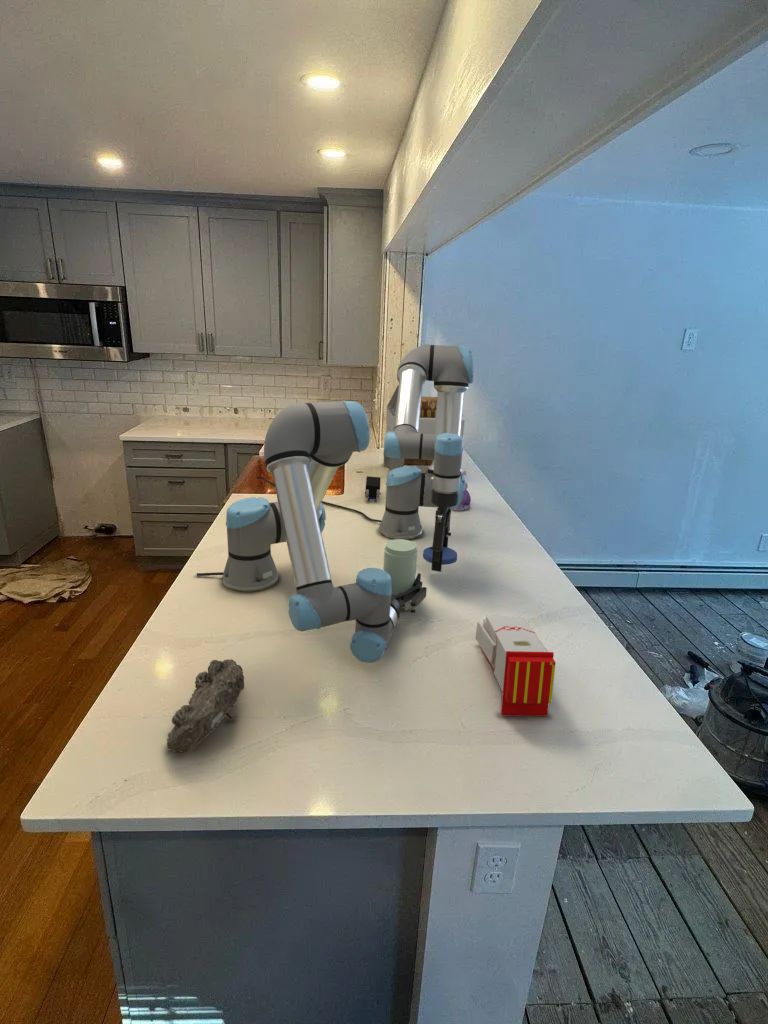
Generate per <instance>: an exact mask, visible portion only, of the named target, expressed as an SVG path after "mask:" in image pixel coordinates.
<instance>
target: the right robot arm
mask: <svg viewBox="0 0 768 1024" xmlns="http://www.w3.org/2000/svg"><path fill="white" fill-rule="evenodd" d="M474 368H475V367H474V355H473V351H472V349H471V348H470V347H469V346H461V345H444V344H443V345H441V344H422V345H419V346H416V347H414V348H412V349H411V350H410V351H409V352H407V353H406V354H405V355H404V356H403V358H402V359H401V361H400V363H399V365H398V367H397V370H396V371H397V373H396V380H397V383H398V385H399V388H398V396H397V404H396V412H395V419H394V427H393V431H392V432H387V433H386V432H385V433H384V434H385V435H384V442H383V455H384V454H385V456H387V457H391V458H398V459H400V458H402V459H421V460H433V463H432V464H431V465H430V466H429V465H428V466H427V472H422V469H421V468H420V467H419V466H418V467H417V466H404V467H399V468H395V469H393V470H391V471H390V470H389V471H388V473H387V475H386V482H385V487H386V488H385V489H386V490H385V504H384V505H385V507H384V508H385V509H384V513H383V515H382V519H375V518H370V517H369V516H367V515H366V514H365V513H364V512H362V511H360V510H358V509H354V508H350V507H346V506H344V505H343V506H342V505H339V504H336V503H332V502H327V501H325V500H324V501H323V500H322V504H323V505H328V506H332V507H335V508H338V509H339V508H340V509H343V510H346V511H351V512H355V513H357V514H359V515H362V516H363V517H364V518H365V519H367V520H368V521H370V522H375V523H379V526H378V533H379V534H380V535H381V536H382V537H385V538H387V539H389V540H394V539H404V540H409V541H412V540H415V539H418V538H420V537H421V536H422V535H423V525H422V524H421V518H420V515H419V507H424V508H436V510H435V516H434V518H435V521H434V528H433V529H434V530H433V538H432V546H430V547H431V548H430V550H433V556H432V563H431V568H430V569H431V571H432V572H439V573H441V572H442V566H443V565H442V556H443V548H442V547H447V548H449V547H448V546H449V537H451V536H452V532H450V531H451V515H452V508H457V507H458V506H459V505H460V502H461V499H462V495H463V490H464V485H465V480H466V476H464V475H462V473H463V471H462V461H463V452H464V437H463V438H462V437H461V436H460V429H461V418H462V417H463V402H464V393H466V391H468V390H469V384H473V383H474V375H475V374H474V373H475V371H474ZM427 381H428V382H433V388H434V389H435V391H436V393H437V395H436V397H437V408H436V422H435V434H419V433H418V428H419V417H420V406H421V397H423V396H422V395H423V386H424V384H425V383H426V382H427ZM461 416H462V417H461ZM259 479H261V480H263V481H264V482H266V483H268V484H270V485H271V486H273V487H275V484H274V482H271V481H270V480H268V479H266V478H265V477H264V476H262V475H261V476H260V475H259V476H257V477H256V480H259Z"/></svg>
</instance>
